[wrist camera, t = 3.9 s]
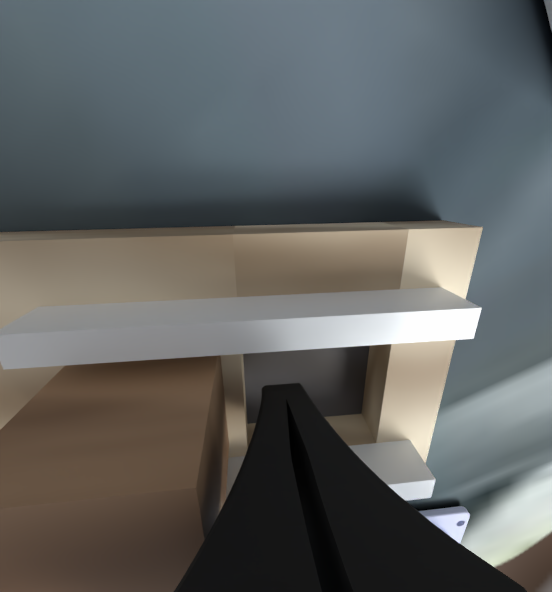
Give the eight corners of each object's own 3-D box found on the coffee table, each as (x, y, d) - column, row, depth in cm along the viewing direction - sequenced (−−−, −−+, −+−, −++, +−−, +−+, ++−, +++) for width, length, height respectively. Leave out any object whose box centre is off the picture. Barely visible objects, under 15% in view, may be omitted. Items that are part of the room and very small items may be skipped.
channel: (406, 456, 13) (430, 497, 11) (100, 488, 12) (75, 539, 10) (441, 287, 10) (481, 307, 8) (37, 306, 9) (-12, 335, 7)
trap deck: (399, 449, 15) (420, 485, 14) (-49, 494, 13) (-95, 543, 12) (442, 220, 11) (482, 227, 9) (-207, 237, 9) (-323, 250, 7)
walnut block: (229, 444, 11) (218, 621, 7) (108, 455, 11) (9, 652, 6) (219, 344, 10) (196, 487, 5) (77, 353, 9) (-89, 517, 5)
